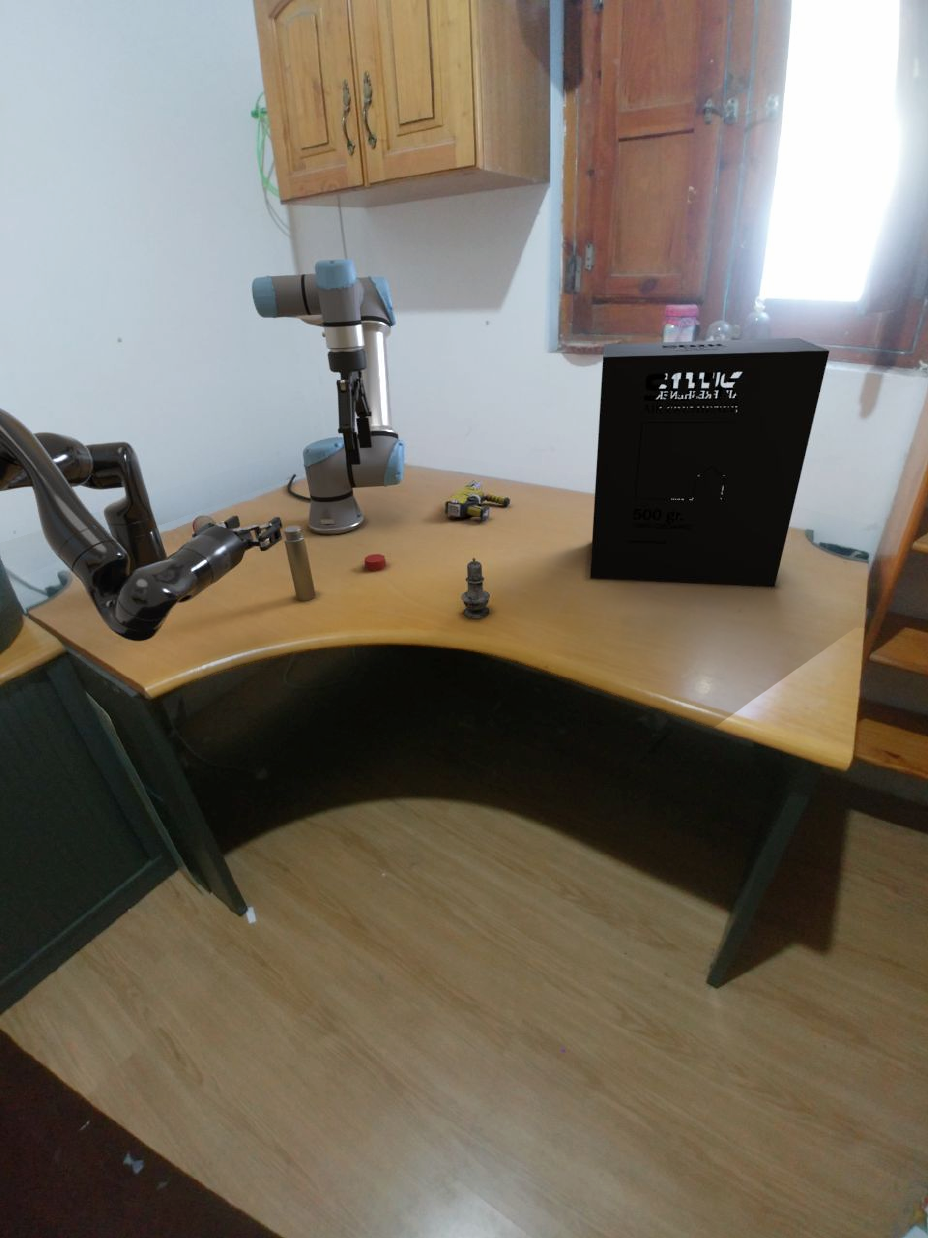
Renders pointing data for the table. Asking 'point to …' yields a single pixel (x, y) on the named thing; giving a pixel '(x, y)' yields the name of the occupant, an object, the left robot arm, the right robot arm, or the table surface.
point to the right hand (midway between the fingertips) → (360, 455)
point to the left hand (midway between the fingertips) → (258, 521)
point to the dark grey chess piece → (475, 592)
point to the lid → (375, 562)
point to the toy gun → (472, 502)
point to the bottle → (299, 563)
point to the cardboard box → (701, 458)
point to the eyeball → (202, 522)
